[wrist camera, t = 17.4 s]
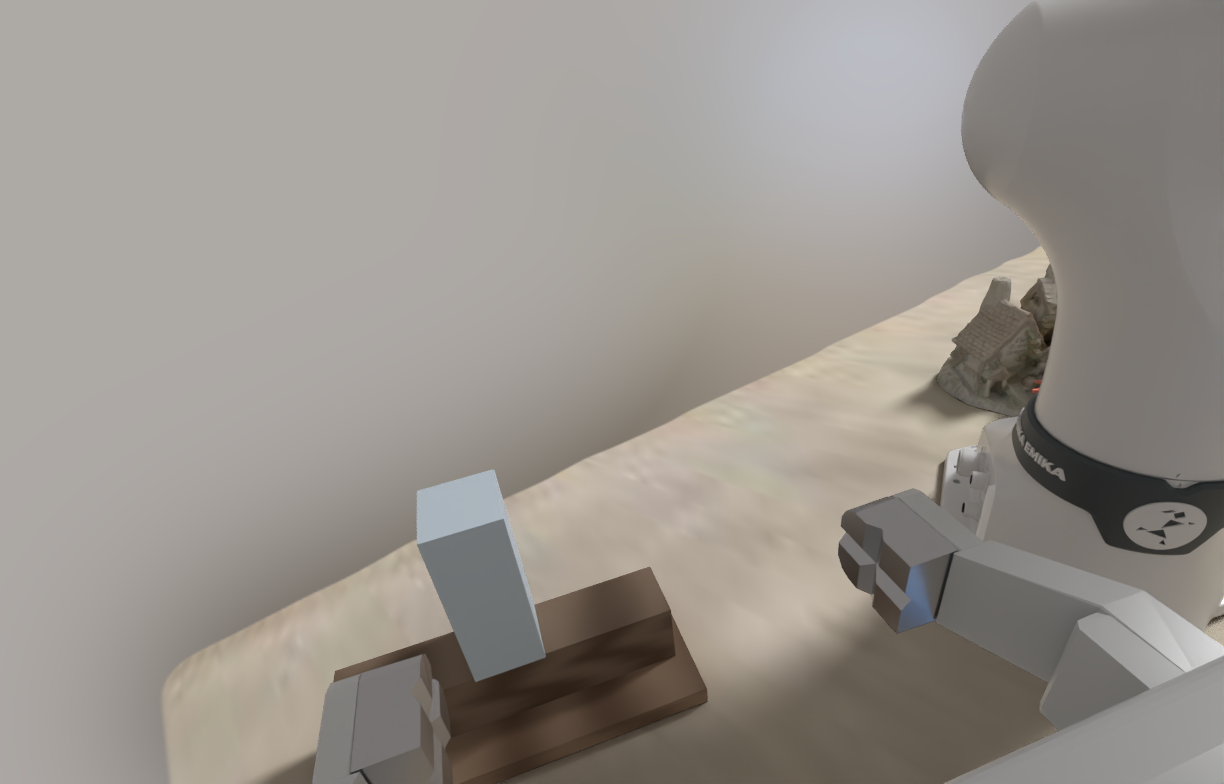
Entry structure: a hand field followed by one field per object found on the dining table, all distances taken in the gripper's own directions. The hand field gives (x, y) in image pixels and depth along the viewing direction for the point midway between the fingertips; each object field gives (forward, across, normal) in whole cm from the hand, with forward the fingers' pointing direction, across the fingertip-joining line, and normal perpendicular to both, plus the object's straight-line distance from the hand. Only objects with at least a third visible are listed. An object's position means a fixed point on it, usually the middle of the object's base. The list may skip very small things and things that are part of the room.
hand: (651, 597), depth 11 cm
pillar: (+19, +5, +24) cm, 31 cm away
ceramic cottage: (+33, -55, +30) cm, 71 cm away
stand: (+19, +6, +30) cm, 36 cm away
